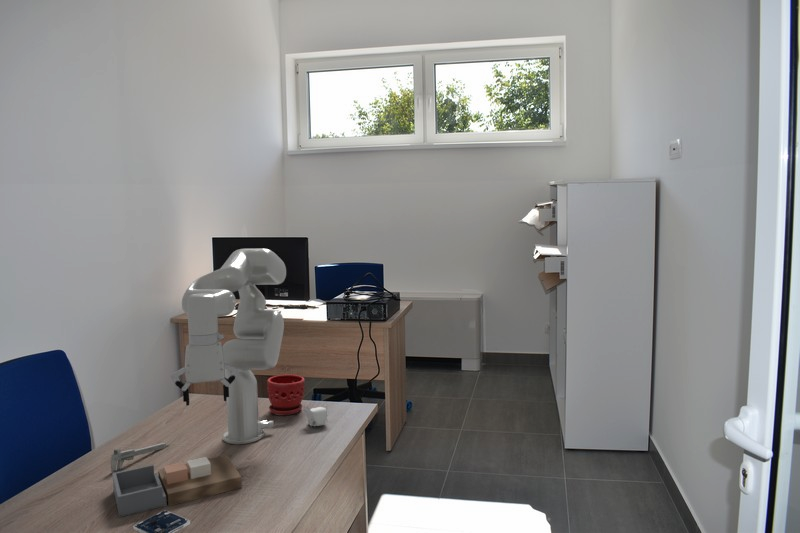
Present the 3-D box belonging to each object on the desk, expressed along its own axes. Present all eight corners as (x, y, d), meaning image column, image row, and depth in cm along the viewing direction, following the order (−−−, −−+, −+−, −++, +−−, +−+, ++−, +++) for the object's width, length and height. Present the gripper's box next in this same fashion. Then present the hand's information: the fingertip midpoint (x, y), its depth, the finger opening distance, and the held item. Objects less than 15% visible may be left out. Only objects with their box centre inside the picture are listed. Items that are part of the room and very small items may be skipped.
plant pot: (295, 419, 204) (294, 385, 203) (261, 415, 208) (260, 382, 207) (311, 406, 217) (310, 374, 216) (279, 403, 221) (278, 372, 220)
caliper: (114, 474, 164) (112, 452, 164) (111, 473, 165) (109, 451, 164) (169, 446, 183) (168, 426, 183) (166, 445, 184) (165, 425, 183)
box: (157, 481, 159) (156, 463, 158) (166, 505, 146) (165, 485, 145) (113, 491, 153) (112, 473, 153) (119, 517, 141) (117, 497, 140)
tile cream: (206, 467, 160) (206, 456, 160) (211, 474, 156) (210, 463, 155) (187, 471, 158) (186, 460, 157) (191, 479, 153) (190, 467, 153)
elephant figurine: (312, 432, 192) (311, 410, 192) (301, 423, 201) (301, 402, 200) (334, 427, 196) (333, 406, 195) (323, 418, 204) (322, 398, 204)
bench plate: (226, 465, 168) (225, 454, 168) (241, 487, 155) (241, 476, 154) (158, 480, 159) (158, 469, 159) (168, 505, 146) (168, 494, 145)
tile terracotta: (184, 472, 157) (183, 461, 157) (187, 479, 153) (187, 468, 153) (164, 477, 155) (163, 466, 154) (167, 484, 150) (166, 473, 150)
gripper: (236, 334, 165) (239, 394, 167) (170, 339, 160) (173, 401, 161) (237, 339, 158) (240, 402, 160) (168, 345, 153) (171, 410, 154)
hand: (206, 401), depth 160 cm, fingers open, 9 cm apart
